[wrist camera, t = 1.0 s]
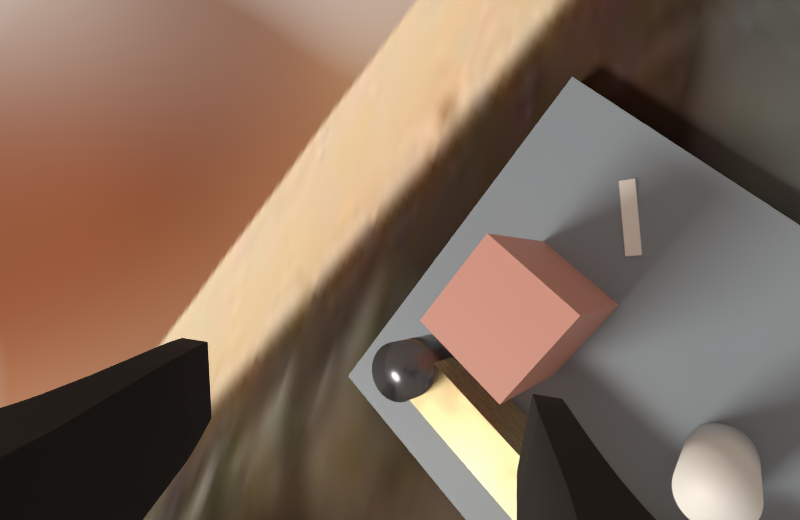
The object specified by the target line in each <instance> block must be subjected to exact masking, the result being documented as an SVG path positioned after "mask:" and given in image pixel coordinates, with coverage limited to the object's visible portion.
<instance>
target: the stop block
mask: <svg viewBox="0 0 800 520" xmlns="http://www.w3.org/2000/svg"><path fill="white" fill-rule="evenodd" d="M618 305H619V304H617V303H616V302H615V301H614V300H613V299H611V298H610V297H609V296H608V295H607V294H605V293H604V292H603V291H602V290H601V289H600V288H598V287H597V286H596V285H595V284H594V283H592V282H591V281H590V280H589V279H588V278H586V277H585V276H584V275H583V274H582V273H580V272H579V271H578V270H577V269H576V268H575V267H573V266H572V265H571V264H570V263H569V262H567V261H566V260H565V259H564V258H563V257H561V256H560V255H559V254H558V253H557V252H555V251H554V250H553V249H552V248H551V247H550V246H548V245H547V244H546V243H545V242H544V241H538V240H531V239H524V238H517V237H509V236H502V235H495V234H488V233H487V234H486V235H485V237H484V238H483V239H482V241H481V242H480V243H479V244H478V246H477V247H476V248H475V250H474V251H473V252H472V254H471V255H470V256H469V257H468V259H467V260H466V261H465V263H464V264H463V265H462V266H461V268H460V269H459V270H458V272H457V273H456V274H455V276H454V277H453V278H452V279H451V281H450V282H449V283H448V285H447V286H446V287H445V288H444V290H443V291H442V292H441V294H440V295H439V296H438V297H437V299H436V300H435V301H434V303H433V304H432V305H431V307H430V308H429V309H428V310H427V312H426V313H425V314H424V316H423V317H422V318H421V319H420V321H421V322H422V323H423V324H424V325H425V327H426V328H427V329H428V330H429V331H430V332H431V333H432V334H433V335H434V336H435V337H436V338H437V339H438V340H439V341H440V342H441V343H442V344H443V345H444V347H445V348H446V349H447V350H448V351H449V352H450V353H451V354H452V355H453V356H454V357H455V358H456V359H457V360H458V361H459V362H460V363H461V364H462V365H463V367H464V368H465V369H466V370H467V371H468V372H469V373H470V374H471V375H472V376H473V377H474V378H475V379H476V380H477V381H478V382H479V383H480V384H481V386H482V387H483V388H484V389H485V390H486V391H487V392H488V393H489V394H490V395H491V396H492V397H493V398H494V399H495V400H496V401H497V402H498V403H499V404H502V403H504V402H505V401H507V400H509V399H511V398H513V397H515V396H516V395H518V394H520V393H522V392H524V391H526V390H527V389H529V388H531V387H533V386H535V385H536V384H538V383H540V382H542V381H544V380H546V379H547V378H549V377H551V376H553V375H554V374H555V373H556V372H557V371H558V370H559V369H560V368H561V367H562V366H563V365H564V364H565V362H566V361H567V360H568V359H569V358H570V357H571V356H572V355H573V354H574V353H575V352H576V351H577V350H578V348H579V347H580V346H581V345H582V344H583V343H584V342H585V341H586V340H587V339H588V338H589V337H590V336H591V335H592V333H593V332H594V331H595V330H596V329H597V328H598V327H599V326H600V325H601V324H602V323H603V322H604V321H605V319H606V318H607V317H608V316H609V315H610V314H611V313H612V312H613V311H614V310H615V309H616V308H617V307H618Z"/></svg>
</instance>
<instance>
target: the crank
mask: <svg viewBox="0 0 800 520" xmlns="http://www.w3.org/2000/svg"><path fill="white" fill-rule="evenodd" d="M372 376H373V380H374V383H375V385H376V387H377V389H378V390H379V392H380V393H381V394H382V395H383V396H384V397H386V398H387V399H389V400H391V401H394V402H406V401H408V400H410V401H411V403H412V404H413V405H414V406H415V407H416V408H417V409H418V411H419V412H420V413H421V414H422V415H423V416H424V418H425V419H426V420H427V421H428V422H429V423H430V425H431V426H432V427H433V428H434V429H435V430H436V432H437V433H438V434H439V435H440V436H441V437H442V438H443V440H444V441H445V442H446V443H447V444H448V445H449V447H450V448H451V449H452V450H453V451H454V452H455V454H456V455H457V456H458V457H459V458H460V459H461V461H462V462H463V463H464V464H465V465H466V466H467V467H468V469H469V470H470V471H471V472H472V473H473V474H474V476H475V477H476V478H477V479H478V480H479V481H480V483H481V484H482V485H483V486H484V487H485V488H486V490H487V491H488V492H489V493H490V494H491V495H492V496H493V498H494V499H495V500H496V501H497V502H498V503H499V505H500V506H501V507H502V508H503V509H504V510H505V512H506V513H507V514H508V515H509V516H510V517H511V519H512V520H517V468H518V463H519V458H520V453H521V448H522V443H523V438H524V433H525V428H526V423H527V418H528V417H527V416H526V415H525V414H524V413H523V412H522V411H521V410H520V409H519V408H518V407H517V406H516V405H515V404H514V403H513V402H512V401H511V400H510V399H509V400H507V401H505V402H504V403H502V404H499V403H498V402H497V401H496V400H495V399H494V398H493V397H492V396H491V395H490V394H489V393H488V392H487V391H486V390H485V389H484V388H483V387H482V386H481V384H480V383H479V382H478V381H477V380H476V379H475V378H474V377H473V376H472V375H471V374H470V373H469V372H468V371H467V370H466V369H465V368H464V367H463V365H462V364H461V363H460V362H459V361H458V360H457V359H456V358H455V357H454V356H453V355H452V354H451V353H450V352H449V351H448V350H447V349H446V348H445V347H444V345H443V344H442V343H441V342H440V341H439V340H438V339H437V338H436V337H435V336H434V335H433V334H429V335H424V336H419V337H414V338H409V339H404V340H399V341H395V342H390V343H387V344H385V345H383V346H382V347H381V348H380V349H379V350H378V351H377V352H376V354H375V356H374V359H373V363H372Z"/></svg>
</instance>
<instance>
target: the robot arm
mask: <svg viewBox="0 0 800 520" xmlns="http://www.w3.org/2000/svg"><path fill="white" fill-rule="evenodd" d="M210 420H211V400H210V381H209V362H208V343H207V342H204V341H197V340H191V339H185V338H181V339H178V340H175V341H172V342H169V343H166V344H164V345H161V346H159V347H156V348H154V349H151V350H149V351H147V352H144V353H142V354H140V355H138V356H135V357H133V358H130V359H128V360H126V361H124V362H121V363H118V364H116V365H114V366H111V367H109V368H107V369H104V370H102V371H100V372H97V373H95V374H93V375H90V376H88V377H85V378H82V379H80V380H77V381H75V382H72V383H69V384H67V385H64V386H62V387H59V388H57V389H54V390H51V391H49V392H46V393H44V394H41V395H38V396H35V397H32V398H30V399H27V400H24V401H21V402H18V403H15V404H12V405H9V406H5V407H2V408H0V520H143V518H144V517H145V516H146V514H147V513H148V512H149V510H150V509H151V508H152V507H153V505H154V504H155V503H156V501H157V500H158V499H159V497H160V496H161V495H162V493H163V492H164V491H165V489H166V488H167V487H168V485H169V484H170V483H171V481H172V480H173V479H174V477H175V476H176V475H177V473H178V472H179V471H180V469H181V468H182V467H183V465H184V464H185V462H186V461H187V460H188V458H189V457H190V455H191V454H192V452H193V450H194V448H195V447H196V445H197V443H198V442H199V440H200V438H201V436H202V434H203V433H204V431H205V429H206V427H207V425H208V423H209V421H210ZM517 520H656V519H655V518H654V517H653V516H652V515H651V514H650V513H649V512H648V511H647V509H646V508H645V507H644V506H643V505H642V504H641V503H640V501H639V500H638V499H637V498H636V497H635V496H634V494H633V493H632V492H631V491H630V490H629V489H628V488H627V486H626V485H625V484H624V483H623V482H622V480H621V479H620V478H619V477H618V475H617V474H616V473H615V472H614V470H613V469H612V468H611V466H610V465H609V464H608V462H607V461H606V460H605V458H604V457H603V456H602V454H601V453H600V452H599V450H598V449H597V448H596V446H595V445H594V443H593V442H592V441H591V439H590V438H589V436H588V435H587V434H586V432H585V431H584V429H583V428H582V426H581V425H580V423H579V422H578V420H577V419H576V418H575V416H574V415H573V413H572V412H571V410H570V409H569V407H568V406H567V404H566V403H565V402H564V400H563V399H562V398H555V397H549V396H543V395H536V394H532V398H531V403H530V408H529V413H528V418H527V423H526V428H525V433H524V438H523V443H522V448H521V453H520V458H519V463H518V468H517Z"/></svg>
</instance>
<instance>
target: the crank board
mask: <svg viewBox="0 0 800 520" xmlns="http://www.w3.org/2000/svg"><path fill="white" fill-rule="evenodd" d="M487 233H488V234H495V235H502V236H509V237H517V238H524V239H531V240H538V241H544V242H545V243H546V244H547V245H548V246H550V247H551V248H552V249H553V250H554V251H555V252H557V253H558V254H559V255H560V256H561V257H563V258H564V259H565V260H566V261H567V262H569V263H570V264H571V265H572V266H573V267H575V268H576V269H577V270H578V271H579V272H580V273H582V274H583V275H584V276H585V277H586V278H588V279H589V280H590V281H591V282H592V283H594V284H595V285H596V286H597V287H598V288H600V289H601V290H602V291H603V292H604V293H605V294H607V295H608V296H609V297H610V298H611V299H613V300H614V301H615V302H616V303H617V304H619V305H618V307H617V308H616V309H615V310H614V311H613V312H612V313H611V314H610V315H609V316H608V317H607V318H606V319H605V321H604V322H603V323H602V324H601V325H600V326H599V327H598V328H597V329H596V330H595V331H594V332H593V333H592V335H591V336H590V337H589V338H588V339H587V340H586V341H585V342H584V343H583V344H582V345H581V346H580V347H579V348H578V350H577V351H576V352H575V353H574V354H573V355H572V356H571V357H570V358H569V359H568V360H567V361H566V362H565V364H564V365H563V366H562V367H561V368H560V369H559V370H558V371H557V372H556V373H555V374H554V375H553V376H551V377H549V378H547V379H546V380H544V381H542V382H540V383H538V384H536V385H535V386H533V387H531V388H529V389H527V390H526V391H524V392H522V393H520V394H518V395H516V396H515V397H513V398H511V399H510V400H511V401H512V402H513V403H514V404H515V405H516V406H517V407H518V408H519V409H520V410H521V411H522V412H523V413H524V414H525V415H526V416H527V417H528V413H529V408H530V403H531V398H532V394H536V395H543V396H549V397H555V398H562V399H563V400H564V402H565V403H566V404H567V406H568V407H569V409H570V410H571V412H572V413H573V415H574V416H575V418H576V419H577V420H578V422H579V423H580V425H581V426H582V428H583V429H584V431H585V432H586V434H587V435H588V436H589V438H590V439H591V441H592V442H593V443H594V445H595V446H596V448H597V449H598V450H599V452H600V453H601V454H602V456H603V457H604V458H605V460H606V461H607V462H608V464H609V465H610V466H611V468H612V469H613V470H614V472H615V473H616V474H617V475H618V477H619V478H620V479H621V480H622V482H623V483H624V484H625V485H626V486H627V488H628V489H629V490H630V491H631V492H632V493H633V494H634V496H635V497H636V498H637V499H638V500H639V501H640V503H641V504H642V505H643V506H644V507H645V508H646V509H647V511H648V512H649V513H650V514H651V515H652V516H653V517H654V518H655V519H656V520H800V225H799V224H797V223H796V222H794V221H793V220H791V219H789V218H788V217H786V216H785V215H783V214H782V213H780V212H779V211H777V210H776V209H774V208H773V207H771V206H770V205H768V204H766V203H765V202H763V201H762V200H760V199H759V198H757V197H756V196H754V195H753V194H751V193H750V192H748V191H747V190H745V189H743V188H742V187H740V186H739V185H737V184H736V183H734V182H733V181H731V180H730V179H728V178H727V177H725V176H724V175H722V174H721V173H719V172H717V171H716V170H714V169H713V168H711V167H710V166H708V165H707V164H705V163H704V162H702V161H701V160H699V159H698V158H696V157H694V156H693V155H691V154H690V153H688V152H687V151H685V150H684V149H682V148H681V147H679V146H678V145H676V144H675V143H673V142H671V141H670V140H668V139H667V138H665V137H664V136H662V135H661V134H659V133H658V132H656V131H655V130H653V129H652V128H650V127H649V126H647V125H645V124H644V123H642V122H641V121H639V120H638V119H636V118H635V117H633V116H632V115H630V114H629V113H627V112H626V111H624V110H622V109H621V108H619V107H618V106H616V105H615V104H613V103H612V102H610V101H609V100H607V99H606V98H604V97H603V96H601V95H599V94H598V93H596V92H595V91H593V90H592V89H590V88H589V87H587V86H586V85H584V84H583V83H581V82H580V81H578V80H577V79H575V78H573V77H572V78H571V79H570V80H569V82H568V83H567V84H566V86H565V87H564V88H563V90H562V91H561V92H560V94H559V95H558V96H557V98H556V99H555V100H554V102H553V103H552V104H551V106H550V107H549V108H548V110H547V111H546V112H545V114H544V115H543V116H542V118H541V119H540V121H539V122H538V123H537V125H536V126H535V127H534V129H533V130H532V131H531V133H530V134H529V135H528V137H527V138H526V139H525V141H524V142H523V143H522V145H521V146H520V147H519V149H518V150H517V151H516V153H515V154H514V155H513V157H512V158H511V159H510V161H509V162H508V163H507V165H506V166H505V167H504V169H503V170H502V171H501V173H500V174H499V175H498V177H497V178H496V179H495V181H494V182H493V183H492V185H491V186H490V187H489V189H488V190H487V191H486V193H485V194H484V195H483V197H482V198H481V199H480V201H479V202H478V203H477V205H476V206H475V207H474V209H473V210H472V211H471V213H470V214H469V215H468V217H467V218H466V219H465V221H464V222H463V223H462V225H461V226H460V227H459V229H458V230H457V231H456V233H455V234H454V235H453V237H452V238H451V239H450V241H449V242H448V243H447V245H446V246H445V247H444V249H443V250H442V251H441V253H440V254H439V255H438V257H437V258H436V259H435V261H434V262H433V263H432V265H431V266H430V267H429V269H428V270H427V271H426V273H425V274H424V275H423V277H422V278H421V279H420V281H419V282H418V283H417V285H416V286H415V287H414V289H413V290H412V291H411V293H410V294H409V295H408V297H407V298H406V299H405V301H404V302H403V303H402V305H401V306H400V307H399V309H398V310H397V311H396V313H395V314H394V315H393V317H392V318H391V319H390V321H389V322H388V323H387V325H386V326H385V327H384V329H383V330H382V331H381V333H380V334H379V336H378V337H377V338H376V340H375V341H374V342H373V344H372V345H371V346H370V348H369V349H368V350H367V352H366V353H365V354H364V356H363V357H362V358H361V360H360V361H359V362H358V364H357V365H356V366H355V368H354V369H353V370H352V372H351V373H350V374H349V378H350V379H351V380H352V381H353V383H354V384H355V385H356V386H357V387H358V389H359V390H360V391H361V392H362V394H363V395H364V396H365V397H366V398H367V400H368V401H369V402H370V403H371V405H372V406H373V407H374V408H375V409H376V411H377V412H378V413H379V414H380V416H381V417H382V418H383V419H384V420H385V422H386V423H387V424H388V425H389V427H390V428H391V429H392V430H393V431H394V433H395V434H396V435H397V436H398V437H399V439H400V440H401V441H402V442H403V444H404V445H405V446H406V447H407V448H408V450H409V451H410V452H411V453H412V455H413V456H414V457H415V458H416V459H417V461H418V462H419V463H420V464H421V466H422V467H423V468H424V469H425V470H426V472H427V473H428V474H429V475H430V477H431V478H432V479H433V480H434V481H435V483H436V484H437V485H438V486H439V488H440V489H441V490H442V491H443V492H444V494H445V495H446V496H447V497H448V498H449V500H450V501H451V502H452V503H453V505H454V506H455V507H456V508H457V509H458V511H459V512H460V513H461V514H462V516H463V517H464V518H465V519H466V520H512V519H511V517H510V516H509V515H508V514H507V513H506V512H505V510H504V509H503V508H502V507H501V506H500V505H499V503H498V502H497V501H496V500H495V499H494V498H493V496H492V495H491V494H490V493H489V492H488V491H487V490H486V488H485V487H484V486H483V485H482V484H481V483H480V481H479V480H478V479H477V478H476V477H475V476H474V474H473V473H472V472H471V471H470V470H469V469H468V467H467V466H466V465H465V464H464V463H463V462H462V461H461V459H460V458H459V457H458V456H457V455H456V454H455V452H454V451H453V450H452V449H451V448H450V447H449V445H448V444H447V443H446V442H445V441H444V440H443V438H442V437H441V436H440V435H439V434H438V433H437V432H436V430H435V429H434V428H433V427H432V426H431V425H430V423H429V422H428V421H427V420H426V419H425V418H424V416H423V415H422V414H421V413H420V412H419V411H418V409H417V408H416V407H415V406H414V405H413V404H412V403H411V401H410V400H408V401H406V402H394V401H391V400H389V399H387V398H386V397H384V396H383V395H382V394H381V393H380V392H379V390H378V389H377V387H376V385H375V383H374V380H373V376H372V363H373V359H374V356H375V354H376V352H377V351H378V350H379V349H380V348H381V347H382V346H383V345H385V344H387V343H390V342H395V341H399V340H404V339H409V338H414V337H419V336H424V335H429V334H432V333H431V332H430V331H429V330H428V329H427V328H426V327H425V325H424V324H423V323H422V322H421V321H420V319H421V318H422V317H423V316H424V314H425V313H426V312H427V310H428V309H429V308H430V307H431V305H432V304H433V303H434V301H435V300H436V299H437V297H438V296H439V295H440V294H441V292H442V291H443V290H444V288H445V287H446V286H447V285H448V283H449V282H450V281H451V279H452V278H453V277H454V276H455V274H456V273H457V272H458V270H459V269H460V268H461V266H462V265H463V264H464V263H465V261H466V260H467V259H468V257H469V256H470V255H471V254H472V252H473V251H474V250H475V248H476V247H477V246H478V244H479V243H480V242H481V241H482V239H483V238H484V237H485V235H486V234H487Z"/></svg>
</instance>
